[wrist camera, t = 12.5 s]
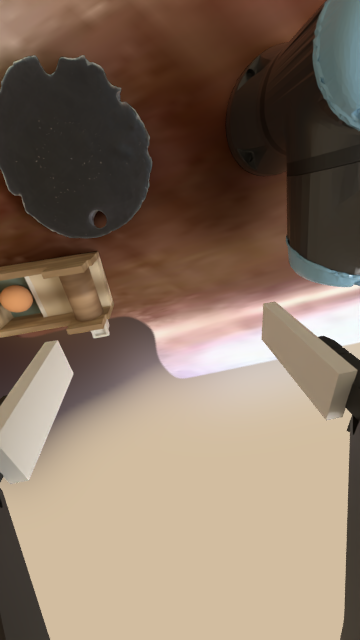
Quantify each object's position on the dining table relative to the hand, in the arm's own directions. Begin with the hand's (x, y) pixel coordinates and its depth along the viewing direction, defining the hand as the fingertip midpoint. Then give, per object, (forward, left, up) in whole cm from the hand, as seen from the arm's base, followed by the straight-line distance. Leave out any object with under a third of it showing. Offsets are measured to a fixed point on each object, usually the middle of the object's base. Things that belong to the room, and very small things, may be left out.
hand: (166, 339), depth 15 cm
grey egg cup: (+14, -14, -33) cm, 38 cm away
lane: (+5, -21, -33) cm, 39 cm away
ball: (+5, -27, -30) cm, 40 cm away
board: (-14, -9, -33) cm, 37 cm away
